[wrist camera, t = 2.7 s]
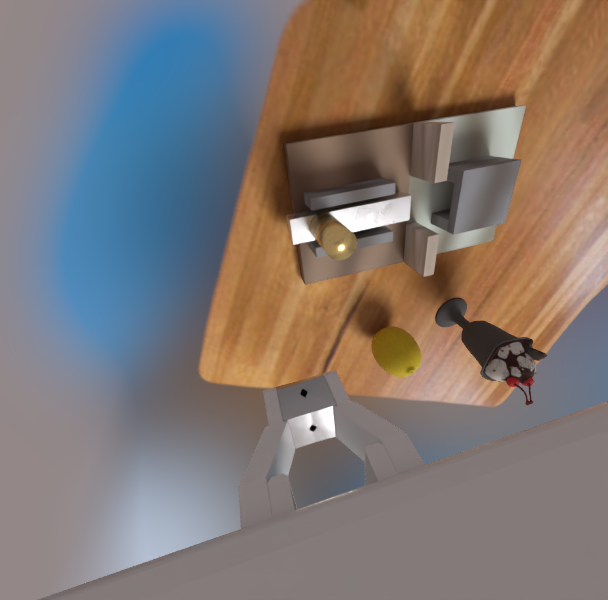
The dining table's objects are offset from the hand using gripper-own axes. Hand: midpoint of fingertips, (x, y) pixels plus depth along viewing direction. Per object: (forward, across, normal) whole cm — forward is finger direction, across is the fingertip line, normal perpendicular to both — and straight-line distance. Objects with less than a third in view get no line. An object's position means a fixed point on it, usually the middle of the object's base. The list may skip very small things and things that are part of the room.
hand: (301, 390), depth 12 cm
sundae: (+21, -26, +18) cm, 38 cm away
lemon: (+21, -14, +18) cm, 31 cm away
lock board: (+21, -16, 0) cm, 27 cm away
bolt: (+20, -9, 0) cm, 22 cm away
